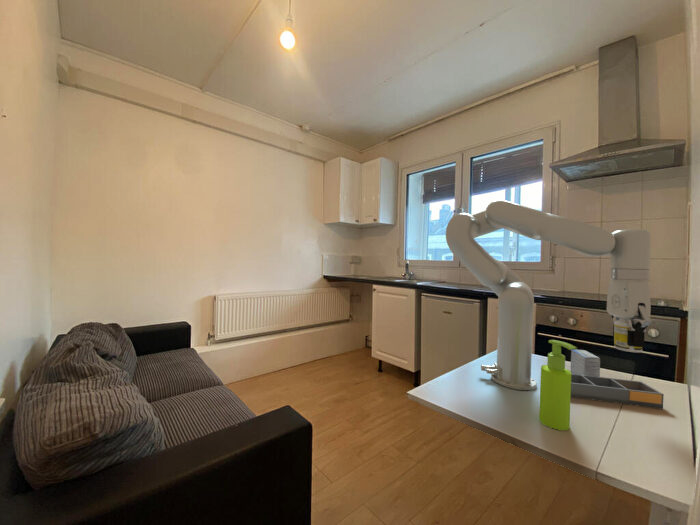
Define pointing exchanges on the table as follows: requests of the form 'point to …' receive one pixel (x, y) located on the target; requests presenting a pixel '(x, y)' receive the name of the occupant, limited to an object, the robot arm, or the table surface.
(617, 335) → the supplement bottle
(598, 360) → the medicine box
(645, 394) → the rack
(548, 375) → the soap dispenser
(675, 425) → the table surface
